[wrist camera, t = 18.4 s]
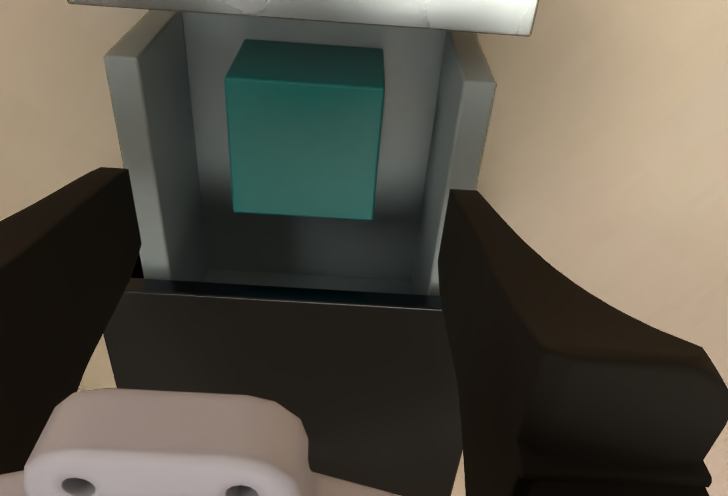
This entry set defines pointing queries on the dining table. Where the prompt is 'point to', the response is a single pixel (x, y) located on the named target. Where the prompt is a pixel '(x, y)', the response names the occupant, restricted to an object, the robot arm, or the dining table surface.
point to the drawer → (211, 148)
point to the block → (305, 128)
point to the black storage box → (307, 369)
